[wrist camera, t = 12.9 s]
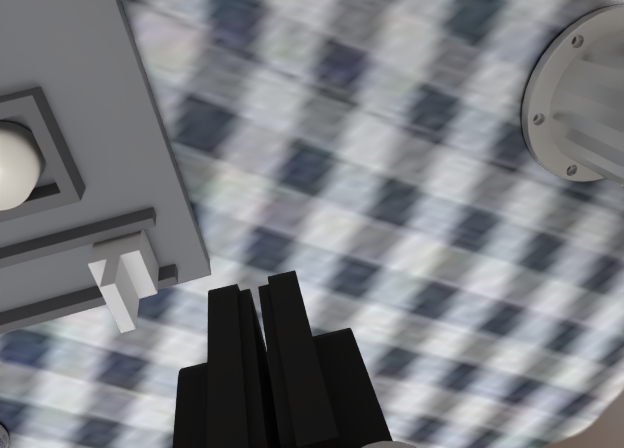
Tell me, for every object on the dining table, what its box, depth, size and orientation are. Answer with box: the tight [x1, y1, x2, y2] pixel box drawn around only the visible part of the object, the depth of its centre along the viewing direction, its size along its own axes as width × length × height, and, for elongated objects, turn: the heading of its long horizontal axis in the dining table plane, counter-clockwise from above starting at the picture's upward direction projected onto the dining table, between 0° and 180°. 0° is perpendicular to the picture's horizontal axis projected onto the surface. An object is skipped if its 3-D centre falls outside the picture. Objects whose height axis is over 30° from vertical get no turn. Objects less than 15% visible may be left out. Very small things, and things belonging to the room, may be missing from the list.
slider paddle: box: [88, 230, 159, 333], centre depth 32 cm, size 3×3×6 cm
